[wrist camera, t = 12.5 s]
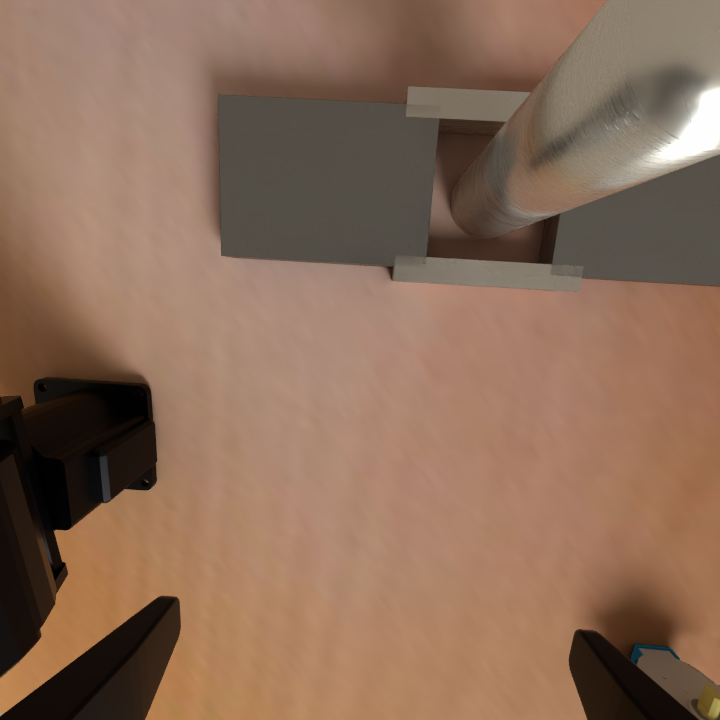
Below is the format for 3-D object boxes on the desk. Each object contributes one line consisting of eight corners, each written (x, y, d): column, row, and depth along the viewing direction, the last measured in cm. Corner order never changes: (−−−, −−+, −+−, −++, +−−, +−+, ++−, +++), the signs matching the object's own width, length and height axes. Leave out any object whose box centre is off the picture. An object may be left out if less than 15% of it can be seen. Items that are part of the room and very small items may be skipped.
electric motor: (712, 630, 23) (803, 723, 18) (691, 689, 24) (773, 792, 19) (603, 619, 23) (664, 709, 18) (587, 679, 24) (642, 779, 19)
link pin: (438, 220, 19) (579, 86, 6) (471, 150, 18) (715, -175, 5) (500, 251, 19) (767, 184, 6) (536, 182, 18) (923, -56, 5)
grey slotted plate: (232, 271, 19) (221, 270, 18) (230, 93, 18) (217, 76, 16) (728, 301, 19) (757, 302, 17) (776, 121, 17) (813, 106, 16)
